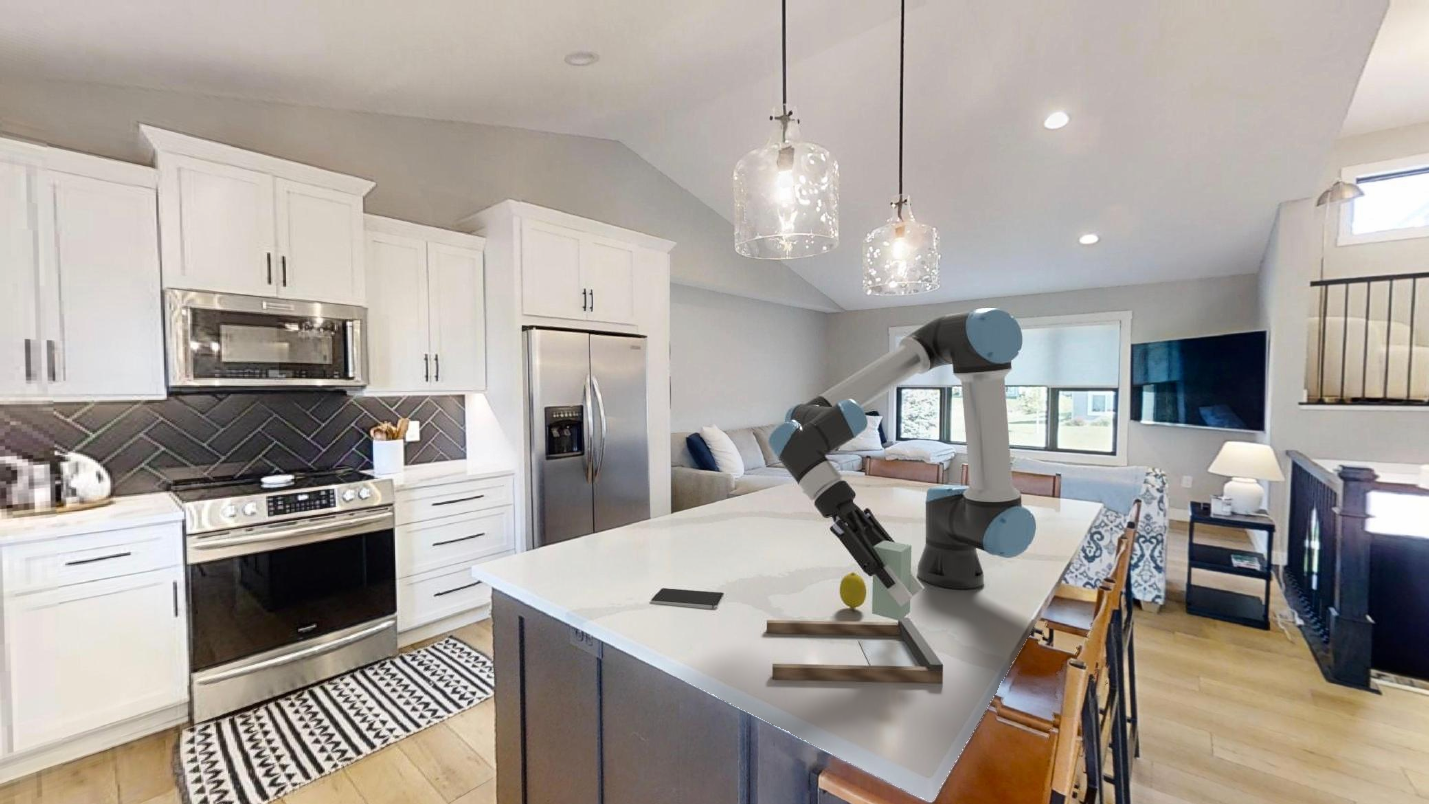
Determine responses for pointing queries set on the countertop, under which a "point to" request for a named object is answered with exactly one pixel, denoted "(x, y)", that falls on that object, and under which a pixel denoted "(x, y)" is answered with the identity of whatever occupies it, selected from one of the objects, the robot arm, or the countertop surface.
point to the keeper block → (900, 564)
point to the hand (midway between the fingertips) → (912, 596)
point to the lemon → (853, 590)
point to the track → (866, 653)
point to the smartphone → (688, 598)
